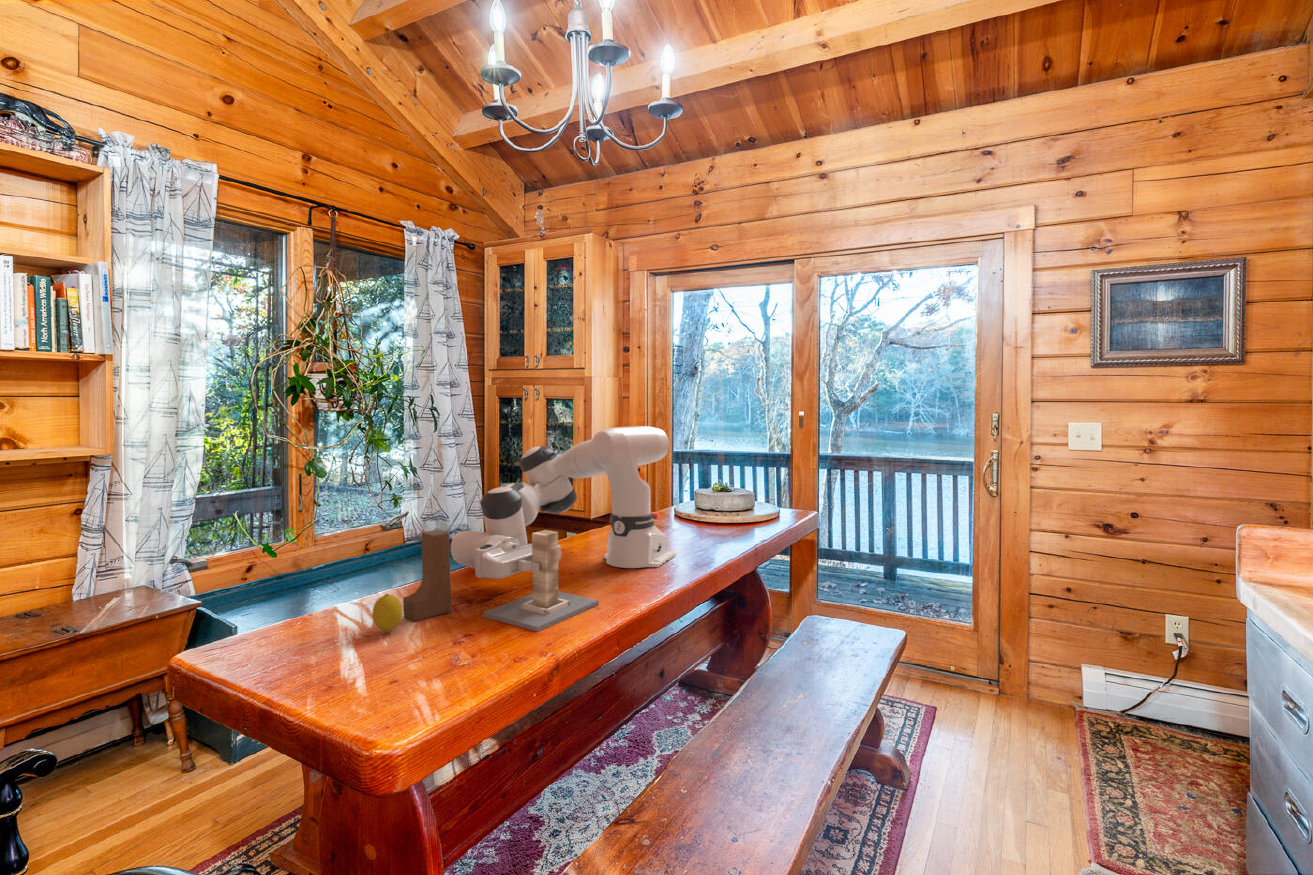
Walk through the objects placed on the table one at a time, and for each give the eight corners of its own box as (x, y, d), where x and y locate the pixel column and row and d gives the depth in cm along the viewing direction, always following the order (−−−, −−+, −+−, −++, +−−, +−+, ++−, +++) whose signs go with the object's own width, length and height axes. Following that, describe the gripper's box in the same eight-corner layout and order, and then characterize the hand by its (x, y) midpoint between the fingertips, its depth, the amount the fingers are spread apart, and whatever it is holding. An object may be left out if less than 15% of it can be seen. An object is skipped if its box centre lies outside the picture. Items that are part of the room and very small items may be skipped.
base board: (546, 592, 155) (546, 584, 155) (598, 604, 147) (598, 596, 147) (483, 616, 139) (483, 607, 139) (537, 631, 130) (537, 622, 130)
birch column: (545, 599, 145) (544, 529, 144) (558, 602, 143) (558, 532, 142) (532, 604, 142) (532, 533, 140) (546, 607, 139) (545, 535, 138)
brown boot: (412, 622, 135) (410, 538, 134) (403, 617, 138) (400, 535, 137) (451, 612, 142) (450, 532, 140) (441, 607, 145) (439, 529, 143)
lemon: (373, 629, 131) (372, 591, 130) (402, 625, 133) (401, 588, 133) (373, 639, 126) (371, 599, 125) (403, 635, 128) (402, 596, 128)
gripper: (535, 558, 157) (578, 567, 150) (470, 579, 140) (515, 590, 133) (535, 533, 157) (578, 541, 149) (469, 550, 140) (514, 560, 132)
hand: (548, 564), depth 141 cm, fingers closed on birch column, 4 cm apart
